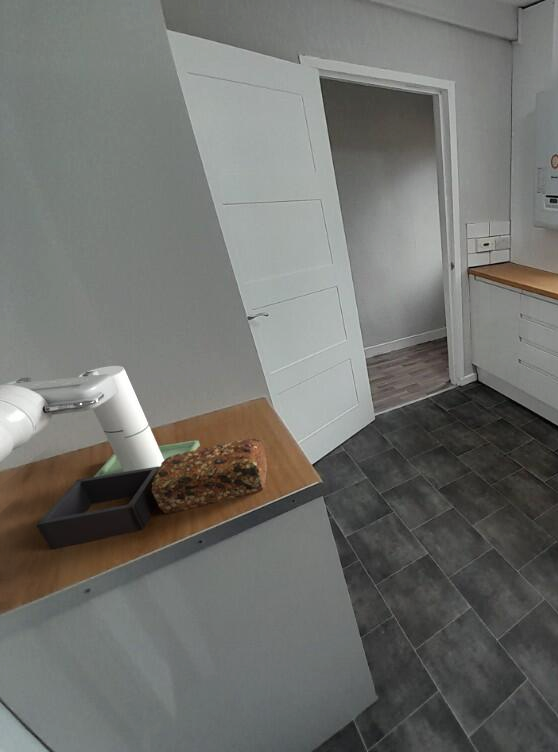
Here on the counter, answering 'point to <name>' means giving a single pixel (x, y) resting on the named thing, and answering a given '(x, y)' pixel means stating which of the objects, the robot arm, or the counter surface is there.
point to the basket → (79, 526)
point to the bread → (210, 475)
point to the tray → (166, 451)
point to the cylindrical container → (127, 425)
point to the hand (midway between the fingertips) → (61, 378)
